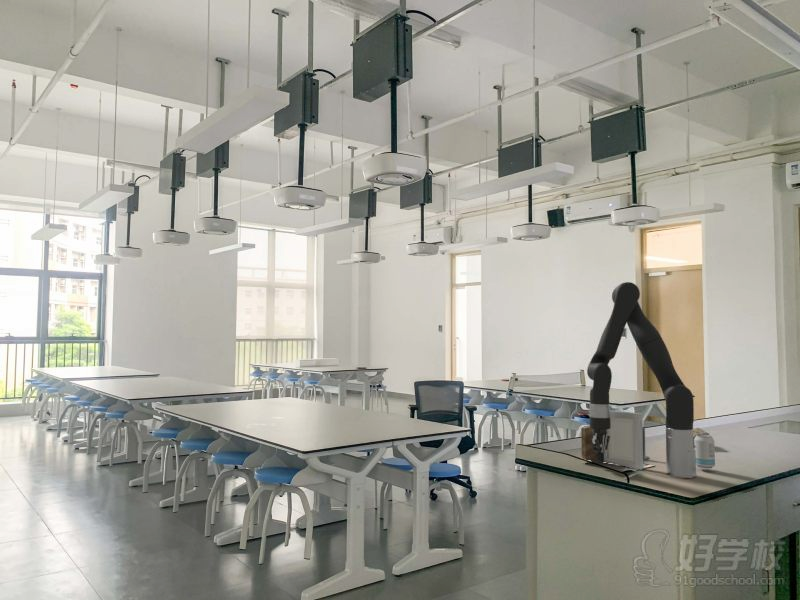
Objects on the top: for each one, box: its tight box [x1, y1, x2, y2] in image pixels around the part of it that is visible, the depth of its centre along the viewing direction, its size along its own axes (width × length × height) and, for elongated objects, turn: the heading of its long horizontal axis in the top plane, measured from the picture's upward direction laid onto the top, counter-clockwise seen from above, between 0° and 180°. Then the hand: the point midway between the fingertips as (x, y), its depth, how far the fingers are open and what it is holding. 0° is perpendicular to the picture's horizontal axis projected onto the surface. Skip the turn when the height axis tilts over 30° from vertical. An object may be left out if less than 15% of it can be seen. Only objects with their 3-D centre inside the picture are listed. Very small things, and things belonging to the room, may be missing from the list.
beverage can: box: [694, 434, 716, 469], centre depth 231 cm, size 7×7×12 cm
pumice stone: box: [693, 427, 710, 446], centre depth 277 cm, size 14×12×8 cm
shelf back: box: [580, 425, 597, 462], centre depth 245 cm, size 2×28×14 cm, turn 138°
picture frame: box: [604, 409, 644, 471], centre depth 233 cm, size 16×3×21 cm, turn 44°
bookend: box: [643, 426, 650, 461], centre depth 250 cm, size 12×6×13 cm, turn 48°
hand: (600, 462), depth 227 cm, fingers closed
